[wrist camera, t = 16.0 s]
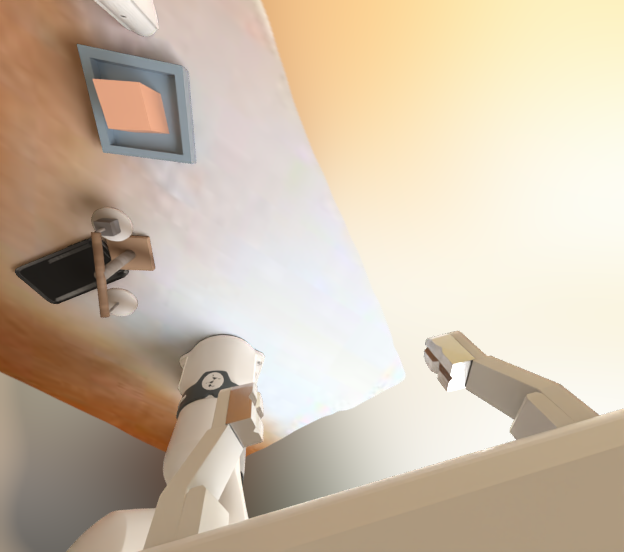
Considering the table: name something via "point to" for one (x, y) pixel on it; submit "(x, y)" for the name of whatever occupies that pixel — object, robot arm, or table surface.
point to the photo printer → (133, 14)
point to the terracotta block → (131, 106)
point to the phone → (66, 272)
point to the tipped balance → (117, 258)
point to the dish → (158, 78)
